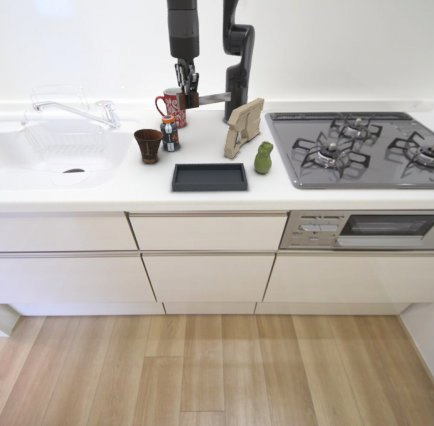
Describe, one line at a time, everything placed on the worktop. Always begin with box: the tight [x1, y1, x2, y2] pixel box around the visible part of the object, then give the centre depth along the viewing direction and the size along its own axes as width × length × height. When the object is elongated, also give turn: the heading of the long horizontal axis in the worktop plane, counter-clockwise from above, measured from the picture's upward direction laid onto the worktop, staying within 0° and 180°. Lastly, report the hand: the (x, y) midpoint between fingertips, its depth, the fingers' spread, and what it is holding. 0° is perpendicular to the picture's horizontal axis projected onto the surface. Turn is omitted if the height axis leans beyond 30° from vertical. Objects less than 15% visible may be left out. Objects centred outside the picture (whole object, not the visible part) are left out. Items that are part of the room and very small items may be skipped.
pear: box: [253, 140, 274, 174], centre depth 72 cm, size 6×5×10 cm
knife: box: [176, 91, 231, 111], centre depth 70 cm, size 17×3×4 cm, turn 113°
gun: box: [223, 97, 265, 159], centre depth 84 cm, size 24×3×15 cm, turn 148°
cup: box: [133, 128, 163, 164], centre depth 78 cm, size 9×9×10 cm
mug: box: [154, 86, 187, 129], centre depth 97 cm, size 13×9×14 cm
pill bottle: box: [159, 114, 180, 152], centre depth 83 cm, size 6×6×11 cm
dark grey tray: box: [171, 162, 249, 192], centre depth 72 cm, size 22×11×3 cm, turn 91°
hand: (188, 105), depth 70 cm, fingers closed on knife, 2 cm apart
